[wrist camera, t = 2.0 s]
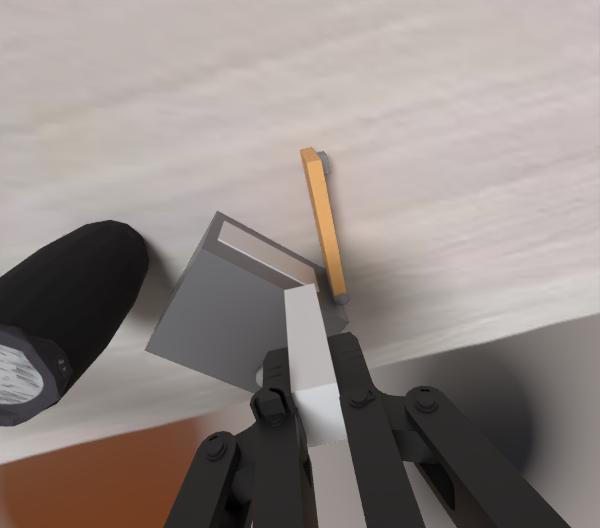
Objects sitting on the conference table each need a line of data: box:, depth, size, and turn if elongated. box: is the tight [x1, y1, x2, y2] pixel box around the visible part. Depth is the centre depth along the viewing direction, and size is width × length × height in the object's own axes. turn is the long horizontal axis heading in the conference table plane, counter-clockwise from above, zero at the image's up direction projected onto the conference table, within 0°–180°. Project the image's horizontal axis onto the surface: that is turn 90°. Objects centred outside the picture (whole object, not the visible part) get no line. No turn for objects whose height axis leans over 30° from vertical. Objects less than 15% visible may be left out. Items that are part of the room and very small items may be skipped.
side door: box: [300, 147, 349, 305], centre depth 35 cm, size 14×2×7 cm, turn 13°
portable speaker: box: [0, 220, 149, 426], centre depth 31 cm, size 9×9×20 cm
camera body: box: [145, 211, 348, 393], centre depth 38 cm, size 18×12×11 cm
